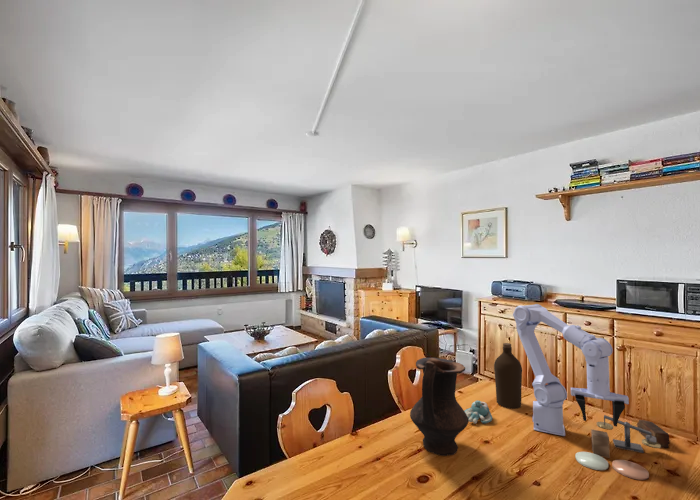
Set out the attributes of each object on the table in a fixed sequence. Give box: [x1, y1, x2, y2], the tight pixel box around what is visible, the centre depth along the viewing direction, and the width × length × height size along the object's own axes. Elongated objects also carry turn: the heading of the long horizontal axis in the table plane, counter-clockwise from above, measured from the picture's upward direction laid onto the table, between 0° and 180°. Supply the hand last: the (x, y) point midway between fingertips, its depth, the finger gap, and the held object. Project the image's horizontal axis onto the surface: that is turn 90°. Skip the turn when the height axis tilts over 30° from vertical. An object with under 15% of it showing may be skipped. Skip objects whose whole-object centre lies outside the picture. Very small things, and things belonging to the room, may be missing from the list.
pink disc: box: [611, 459, 650, 481], centre depth 97 cm, size 8×8×1 cm
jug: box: [409, 357, 470, 457], centre depth 110 cm, size 21×18×30 cm
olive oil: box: [493, 342, 523, 410], centre depth 143 cm, size 11×11×25 cm
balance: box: [595, 414, 662, 454], centre depth 109 cm, size 16×4×9 cm, turn 60°
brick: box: [636, 419, 671, 449], centre depth 113 cm, size 11×4×5 cm, turn 165°
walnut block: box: [590, 429, 611, 459], centre depth 106 cm, size 4×4×6 cm
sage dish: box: [574, 451, 609, 471], centre depth 101 cm, size 8×8×1 cm
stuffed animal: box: [463, 400, 493, 424], centre depth 129 cm, size 11×7×12 cm
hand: (599, 422), depth 106 cm, fingers open, 7 cm apart
